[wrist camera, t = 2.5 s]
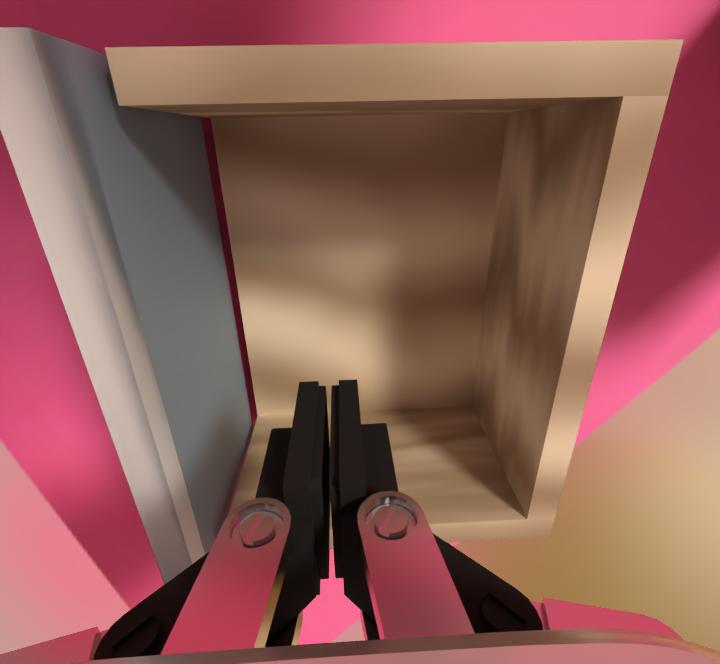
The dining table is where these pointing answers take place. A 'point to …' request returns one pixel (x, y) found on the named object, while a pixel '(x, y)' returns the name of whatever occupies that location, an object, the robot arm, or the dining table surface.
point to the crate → (427, 242)
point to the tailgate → (135, 280)
